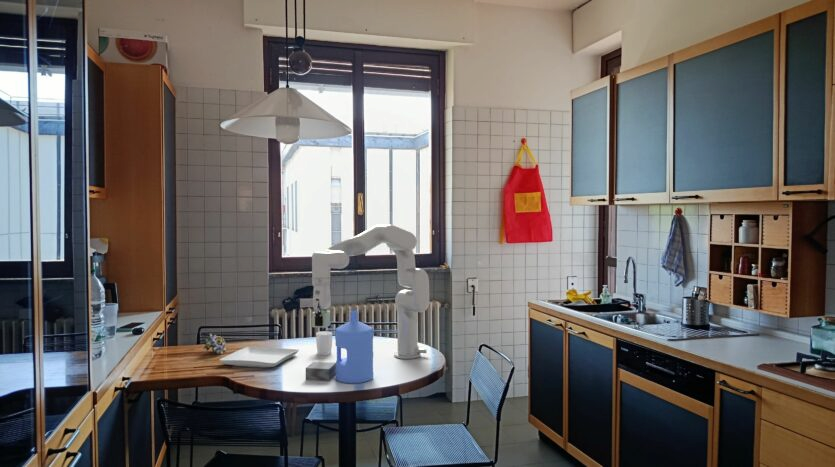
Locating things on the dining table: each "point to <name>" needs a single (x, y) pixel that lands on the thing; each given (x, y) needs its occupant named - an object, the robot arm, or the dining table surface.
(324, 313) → the sage cube
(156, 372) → the dining table surface
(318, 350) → the white cup
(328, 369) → the block
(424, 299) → the robot arm
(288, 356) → the square plate
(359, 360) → the water jug
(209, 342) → the passion flower
